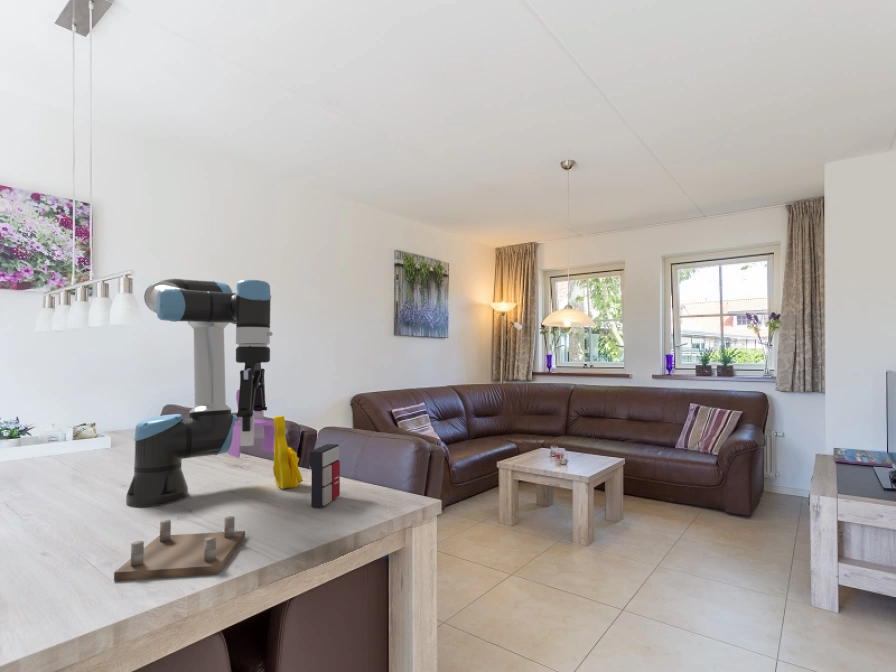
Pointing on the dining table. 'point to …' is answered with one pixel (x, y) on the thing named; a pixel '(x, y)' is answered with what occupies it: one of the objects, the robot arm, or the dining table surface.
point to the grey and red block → (325, 475)
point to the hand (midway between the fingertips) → (252, 441)
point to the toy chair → (266, 424)
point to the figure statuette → (284, 458)
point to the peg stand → (181, 553)
